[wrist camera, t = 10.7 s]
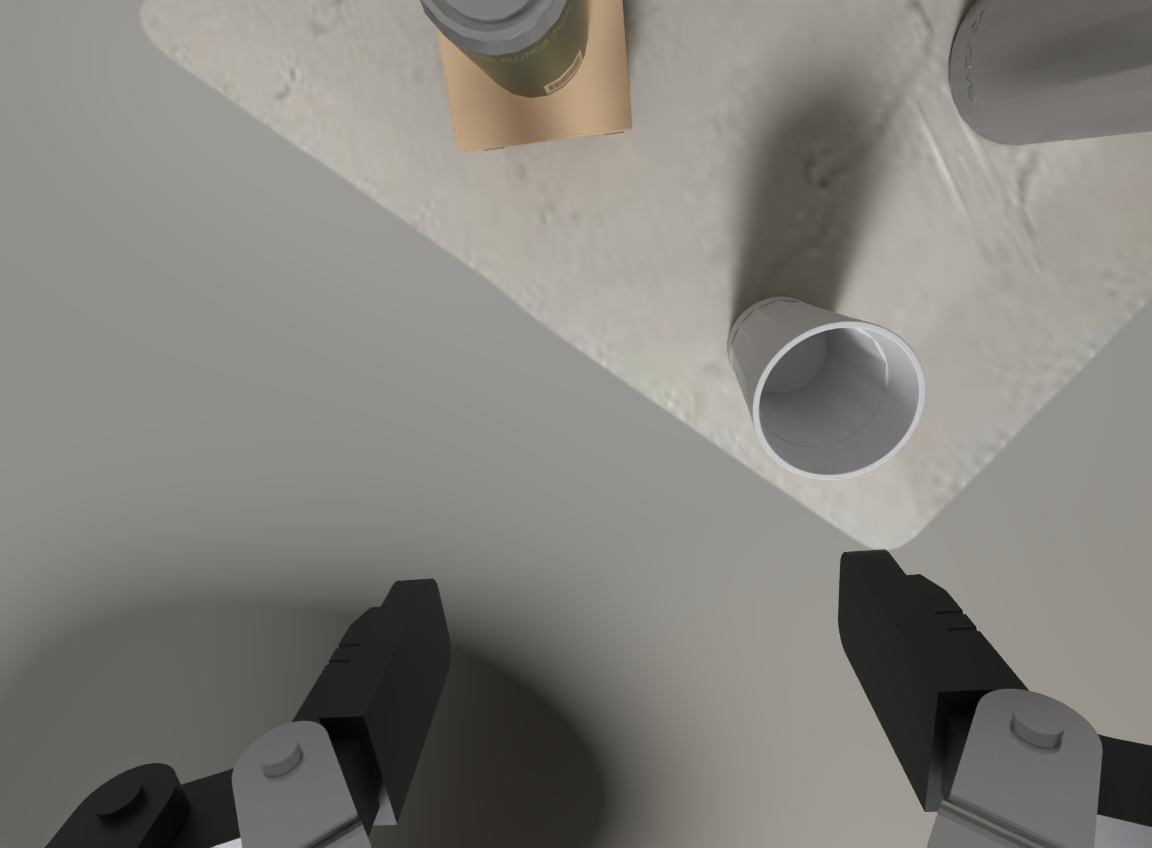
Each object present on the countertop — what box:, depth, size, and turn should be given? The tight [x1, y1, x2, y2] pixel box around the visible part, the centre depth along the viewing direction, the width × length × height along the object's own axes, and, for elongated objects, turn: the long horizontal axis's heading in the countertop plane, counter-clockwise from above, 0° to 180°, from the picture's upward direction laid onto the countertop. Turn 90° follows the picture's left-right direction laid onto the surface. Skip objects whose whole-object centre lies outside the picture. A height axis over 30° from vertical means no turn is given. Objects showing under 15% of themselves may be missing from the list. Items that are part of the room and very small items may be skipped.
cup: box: [727, 296, 926, 480], centre depth 35 cm, size 8×8×12 cm
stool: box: [437, 0, 632, 152], centre depth 33 cm, size 9×9×6 cm
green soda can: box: [420, 0, 588, 98], centre depth 24 cm, size 5×5×12 cm
